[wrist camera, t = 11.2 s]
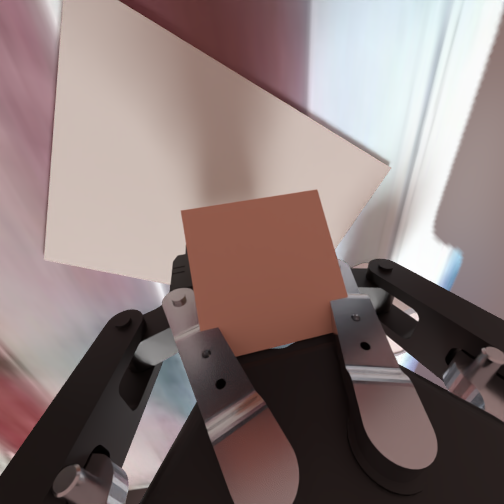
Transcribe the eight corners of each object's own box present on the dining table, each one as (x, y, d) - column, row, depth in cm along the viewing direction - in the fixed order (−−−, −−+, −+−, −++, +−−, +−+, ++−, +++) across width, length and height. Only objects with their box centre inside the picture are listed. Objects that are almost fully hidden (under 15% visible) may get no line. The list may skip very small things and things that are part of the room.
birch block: (218, 328, 16) (205, 364, 7) (207, 263, 17) (180, 210, 7) (282, 313, 17) (356, 326, 7) (268, 252, 18) (317, 189, 8)
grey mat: (46, 257, 17) (43, 259, 17) (68, -30, 11) (65, -32, 10) (292, 307, 26) (293, 308, 26) (388, 167, 19) (391, 167, 19)
